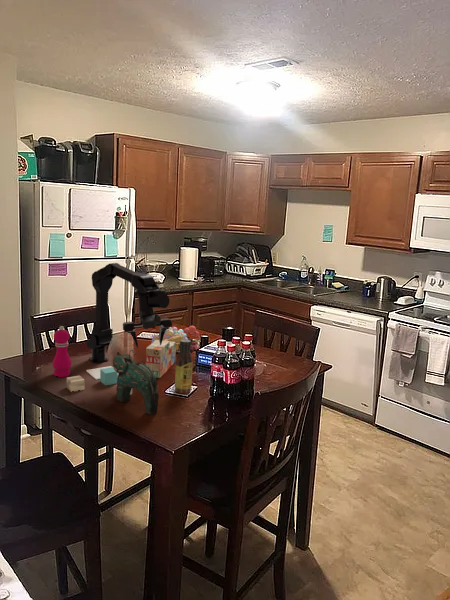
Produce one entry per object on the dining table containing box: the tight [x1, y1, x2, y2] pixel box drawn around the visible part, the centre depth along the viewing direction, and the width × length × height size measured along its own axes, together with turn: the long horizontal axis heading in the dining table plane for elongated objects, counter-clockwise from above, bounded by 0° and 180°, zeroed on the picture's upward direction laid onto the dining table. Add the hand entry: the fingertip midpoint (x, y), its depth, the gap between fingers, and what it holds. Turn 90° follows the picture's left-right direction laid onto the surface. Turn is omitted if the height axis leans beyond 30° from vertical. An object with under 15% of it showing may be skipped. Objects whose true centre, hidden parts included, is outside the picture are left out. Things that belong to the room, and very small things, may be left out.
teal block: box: [99, 366, 118, 386], centre depth 195 cm, size 5×5×5 cm
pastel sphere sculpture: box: [150, 325, 201, 353], centre depth 245 cm, size 25×24×9 cm
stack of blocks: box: [145, 340, 177, 379], centre depth 212 cm, size 21×6×12 cm, turn 168°
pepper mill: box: [52, 325, 72, 378], centre depth 199 cm, size 7×7×20 cm
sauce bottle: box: [174, 339, 194, 394], centre depth 189 cm, size 6×6×20 cm
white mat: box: [85, 365, 113, 381], centre depth 205 cm, size 11×11×1 cm
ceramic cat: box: [112, 349, 160, 416], centre depth 174 cm, size 20×6×20 cm, turn 51°
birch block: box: [66, 375, 86, 393], centre depth 188 cm, size 5×5×4 cm
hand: (149, 346), depth 199 cm, fingers open, 9 cm apart
